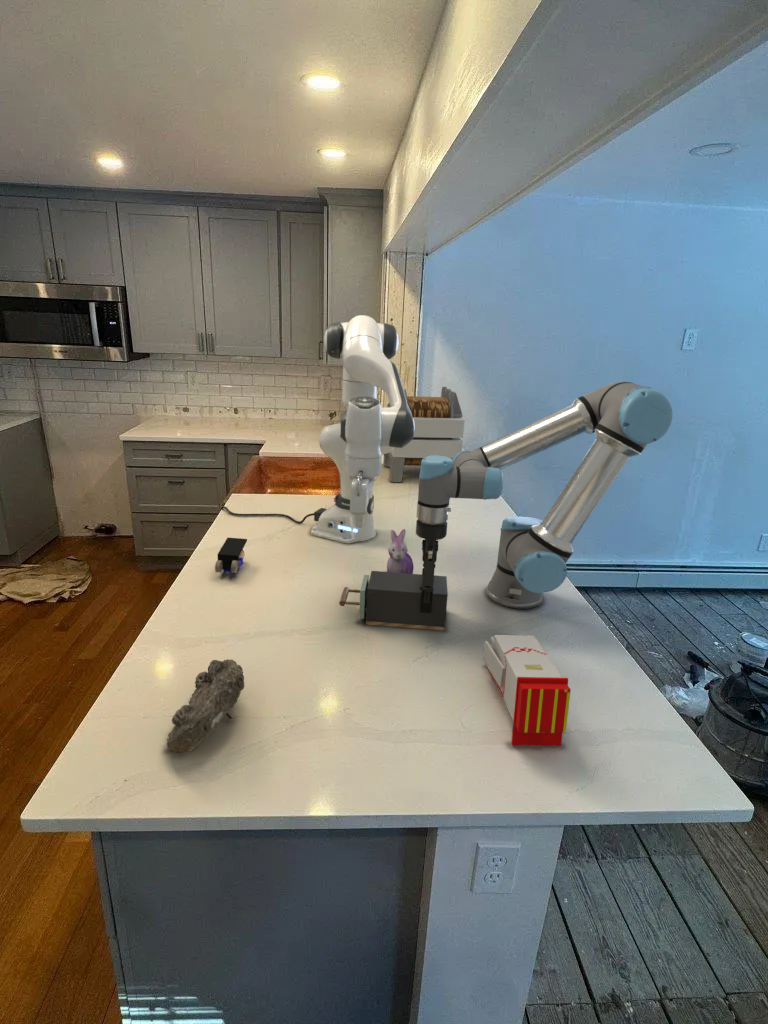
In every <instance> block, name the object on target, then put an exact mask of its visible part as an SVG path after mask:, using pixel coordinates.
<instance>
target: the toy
mask: <svg viewBox="0 0 768 1024" xmlns="http://www.w3.org/2000/svg"><path fill="white" fill-rule="evenodd" d="M482 660H483V663H485V666H486V668H487V669H488V672H489V673H490V675H491V677H492V679H493V681H494V683H495V685H496V687H497V689H498V692H499V693H500V694H501V697H502V698H503V702H504V703H505V706H506V708H507V710H508V712H509V715H510V717H511V720H512V721H513V722H512V731H511V732H512V733H511V746H534V747H535V746H536V747H537V746H542V747H545V746H546V747H548V746H549V747H550V746H551V747H562V743H563V734H567V727H568V717H569V709H570V698H571V690H572V689H571V688H570V686H569V678H568V677H563V676H562V675H561V673H560V672H559V670H558V669H557V667H556V666H555V664H554V663H553V662H552V660H551V658H550V657H549V655H548V654H547V653H546V651H545V650H544V648H543V647H542V644H541V642H540V640H538V639H537V637H536V636H535V635H521V634H520V635H517V634H494V636H490V642H488V640H485V641H484V645H483V653H482Z"/></svg>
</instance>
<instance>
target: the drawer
mask: <svg viewBox="0 0 768 1024" xmlns="http://www.w3.org/2000/svg"><path fill="white" fill-rule="evenodd" d="M369 579H370V575H369V574H363V578H362V582H361V586H360V589H352V588H349V587H348V586H345V587H343V589H342V593H341V595H340V599H339V602H338V604H339V606H340V607H345V606H346V605H348V606H359V613H358V614H359V615H358V617H359V618H358V619H359V620H365V618H366V611H367V588H368V584H369ZM349 593H355V594H359V601H347V599H348V597H349Z"/></svg>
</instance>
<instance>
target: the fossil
mask: <svg viewBox="0 0 768 1024" xmlns="http://www.w3.org/2000/svg"><path fill="white" fill-rule="evenodd" d="M243 670H244V669H243V667H242V665H240V664H237V662H236V661H235V660H234V659H232V658H231V659H227V658H226V659H224V660H223V661H222V660H217V659H212V660H211V661H210V663H209V665H208V666H207V671H201V672H199V673H198V674H197V675H196V676H195V680H194V684H195V685H194V687H195V689H194V690H193V693H192V694H191V697H190V698H189V700H188V704H184V705H182V706H181V707H180V709H177V710H176V711H175V713H174V715H173V716H172V718H171V723H172V724H173V727H172V730H171V731H170V732H168V734H167V738H166V741H167V742H166V745H167V749H168V750H169V751H173V752H174V753H176V754H178V753H182V752H188V751H189V752H192V751H193V750H195V748H196V747H197V746H199V744H200V743H201V742H203V741H204V740H205V739H206V738H207V737H208V736H209V735H210V734H211V733H212V732H214V730H215V729H217V727H218V726H219V724H220V722H221V721H222V720H223V719H224V718H225V716H226V717H227V719H229V720H233V717H232V715H230V714H229V710H230V709H231V708H234V706H235V704H236V703H237V702H238V699H239V697H240V695H241V693H242V691H243V690H245V689H244V688H245V675H244V671H243Z"/></svg>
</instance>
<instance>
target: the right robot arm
mask: <svg viewBox="0 0 768 1024" xmlns="http://www.w3.org/2000/svg"><path fill="white" fill-rule="evenodd" d="M673 413H674V411H673V409H672V404H671V402H670V400H669V399H668V398H667V396H666V395H664V394H663V393H662V392H660V391H658V390H657V389H655V388H652V387H650V386H645V385H640V384H637V383H634V382H631V381H624V380H623V381H615V382H612V383H608V384H606V385H604V386H601V387H599V388H596V389H594V390H592V391H590V392H588V393H586V394H583V395H581V396H579V397H577V398H575V399H574V400H573V403H572V404H571V405H569V406H567V407H565V408H562V409H560V410H558V411H557V412H554V413H552V414H550V415H548V416H545V417H543V418H540V419H538V420H536V421H534V422H532V423H530V424H528V425H525V426H523V427H522V428H519V429H517V430H514V431H513V432H510V433H508V434H506V435H504V436H502V437H500V438H498V439H495V440H493V441H490V442H489V443H486V444H483V445H481V446H480V447H477V448H475V449H473V450H467V449H465V450H462V451H460V452H459V453H457V454H456V455H455V456H454V458H453V460H452V459H450V458H448V457H445V456H437V455H433V456H427V457H425V458H423V459H422V461H421V466H420V469H419V475H418V491H417V492H418V494H417V495H418V496H417V503H416V506H417V507H416V523H415V524H416V525H415V535H416V536H417V537H418V538H420V539H422V543H421V551H422V556H421V557H422V562H423V563H422V570H421V571H422V572H421V574H422V575H423V586H422V587H419V590H422V593H421V607H420V613H431V609H432V597H433V590H434V588H433V582H434V575H435V569H436V563H437V559H438V551H439V540H444V539H445V538H446V537H447V535H448V534H447V532H448V522H447V521H448V519H449V513H450V512H452V508H451V507H449V506H450V500H451V499H468V500H469V499H470V500H483V501H486V500H496V499H499V498H500V497H501V495H502V493H503V487H504V476H503V475H504V474H503V472H502V470H503V469H506V468H508V467H510V466H513V465H514V464H517V463H520V462H521V461H524V460H526V459H528V458H530V457H532V456H533V457H534V456H535V455H537V454H540V453H541V452H544V451H546V450H548V449H550V448H553V447H556V446H557V445H559V444H562V443H564V442H567V441H569V440H570V439H573V438H575V437H579V436H580V435H582V434H589V435H593V434H594V435H595V440H594V441H593V443H592V445H591V446H590V448H589V449H588V450H587V452H586V454H585V456H584V457H583V458H582V460H581V462H580V463H579V465H577V467H576V469H575V470H574V472H573V474H572V475H571V477H570V478H569V480H568V481H567V483H566V484H565V486H564V488H563V489H562V491H561V492H560V493H559V495H558V497H557V498H556V500H555V501H554V503H553V504H552V506H551V507H550V509H549V511H548V512H547V513H546V515H545V517H544V518H543V519H539V518H535V517H532V516H531V517H529V516H509V517H506V518H504V519H503V520H502V522H501V527H500V536H499V545H498V552H497V562H496V567H495V570H494V572H493V575H492V577H491V579H490V580H489V582H488V585H487V589H486V594H487V596H488V597H489V599H490V600H491V601H493V602H495V603H496V604H498V605H500V606H503V607H507V608H512V609H516V610H517V609H518V610H526V609H527V610H528V609H532V608H535V607H538V606H540V605H541V604H542V602H543V598H544V593H548V592H550V593H551V592H552V591H555V590H556V589H558V588H559V587H561V585H562V584H563V583H564V582H565V580H566V579H567V575H568V567H567V566H568V565H567V562H568V561H569V560H570V558H571V556H572V555H573V554H574V547H573V542H574V540H575V538H576V537H577V536H578V534H579V533H580V532H581V530H582V528H583V527H584V525H585V524H586V523H587V521H588V519H589V518H590V517H591V515H592V513H593V512H594V511H595V510H596V507H597V506H598V505H599V504H600V502H601V501H602V499H603V498H604V496H605V495H606V493H607V492H608V490H609V489H610V487H611V486H612V484H613V483H614V481H615V480H616V478H617V477H618V475H619V474H620V472H621V471H622V470H623V468H624V466H625V465H626V463H627V462H628V461H629V459H630V458H632V457H636V456H640V455H641V454H642V452H643V451H644V450H645V448H646V447H647V445H649V444H652V443H655V442H658V441H660V440H661V439H662V438H663V437H664V436H665V435H666V434H667V432H668V431H669V429H670V428H671V425H672V422H673Z"/></svg>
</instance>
